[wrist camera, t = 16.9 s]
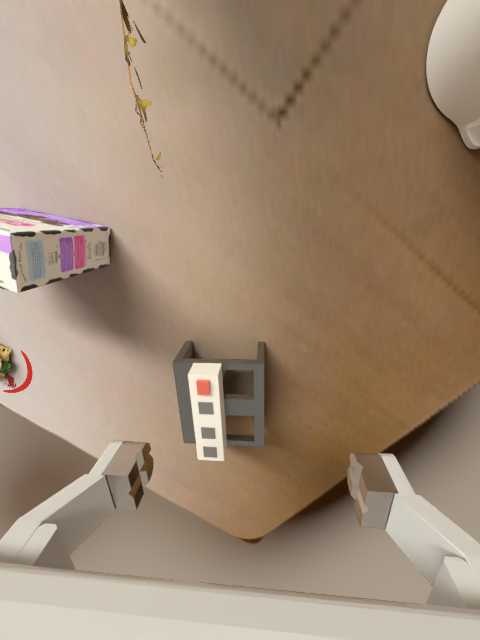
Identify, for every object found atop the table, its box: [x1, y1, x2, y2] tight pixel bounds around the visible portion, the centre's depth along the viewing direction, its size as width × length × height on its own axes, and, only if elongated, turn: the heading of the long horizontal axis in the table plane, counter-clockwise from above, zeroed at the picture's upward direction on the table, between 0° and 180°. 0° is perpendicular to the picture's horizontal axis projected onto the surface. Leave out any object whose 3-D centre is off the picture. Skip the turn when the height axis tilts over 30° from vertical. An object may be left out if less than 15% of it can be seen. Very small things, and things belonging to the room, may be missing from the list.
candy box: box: [0, 208, 110, 292], centre depth 32 cm, size 14×6×16 cm, turn 79°
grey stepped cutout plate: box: [173, 341, 265, 447], centre depth 43 cm, size 13×15×7 cm
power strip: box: [188, 363, 227, 461], centre depth 40 cm, size 4×15×7 cm, turn 2°
